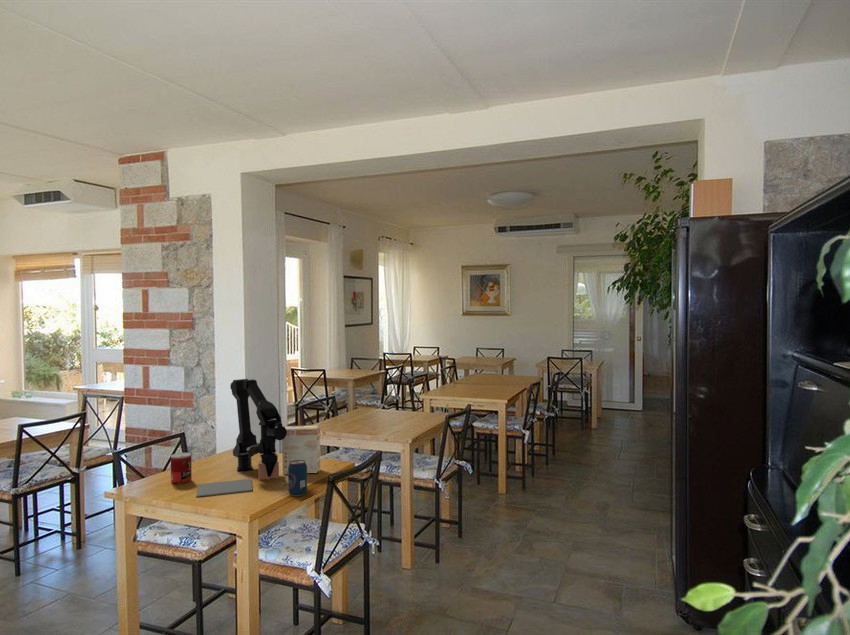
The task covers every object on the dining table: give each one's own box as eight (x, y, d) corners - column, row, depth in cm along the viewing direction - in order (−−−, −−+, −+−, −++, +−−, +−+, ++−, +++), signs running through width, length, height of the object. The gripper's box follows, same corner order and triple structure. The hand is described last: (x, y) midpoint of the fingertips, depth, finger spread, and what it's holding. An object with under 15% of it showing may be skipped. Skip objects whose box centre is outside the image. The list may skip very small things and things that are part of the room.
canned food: (184, 484, 225) (183, 457, 225) (166, 483, 227) (166, 456, 227) (195, 479, 233) (195, 452, 233) (178, 478, 234) (178, 452, 234)
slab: (258, 478, 233) (258, 461, 233) (278, 476, 235) (278, 459, 235) (258, 480, 230) (258, 463, 230) (278, 478, 232) (278, 461, 232)
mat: (198, 485, 224) (198, 484, 224) (251, 480, 230) (251, 478, 230) (196, 497, 208) (196, 495, 208) (252, 491, 215) (252, 489, 215)
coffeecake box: (321, 469, 244) (320, 425, 244) (317, 474, 237) (316, 428, 237) (286, 470, 245) (286, 425, 245) (282, 474, 237) (281, 428, 237)
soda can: (285, 494, 211) (284, 462, 211) (301, 489, 216) (300, 458, 216) (294, 497, 206) (294, 465, 206) (311, 493, 211) (310, 461, 211)
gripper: (247, 434, 239) (247, 470, 239) (248, 443, 221) (249, 482, 221) (274, 432, 242) (274, 468, 242) (277, 440, 225) (278, 479, 225)
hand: (268, 474), depth 232 cm, fingers open, 6 cm apart
